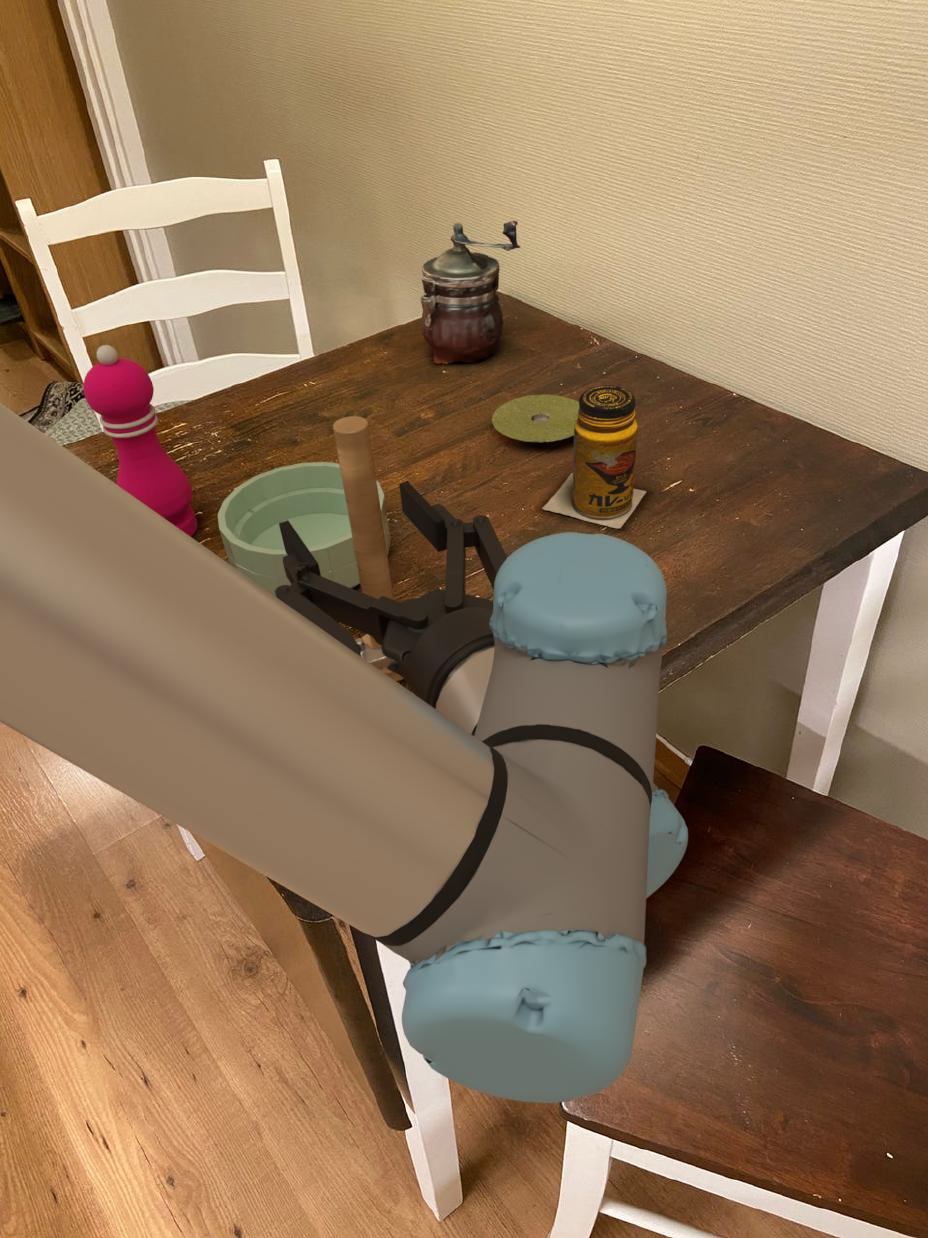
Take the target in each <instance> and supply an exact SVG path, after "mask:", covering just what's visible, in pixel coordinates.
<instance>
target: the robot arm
mask: <svg viewBox="0 0 928 1238" xmlns="http://www.w3.org/2000/svg"><path fill="white" fill-rule="evenodd" d="M116 484H117V483H115V482H113V480H111V479H109V478H108V477H107V476H105V475H104V474H102V473H101V472H99V470H96V469H95V468H93V467H92V466H91V465H89V464H88V463H86V462H85V461H84V460H82V459H81V458H79V457H78V456H77V455H75V454H74V453H72V452H71V451H69V449H67V448H66V447H64V446H62V445H61V444H60V443H58V442H57V441H56V440H54V439H52V438H51V437H50V436H48V435H47V434H45V433H44V432H42V431H41V430H40V429H38V428H37V427H36V426H34V425H32V424H31V423H29V422H28V421H27V420H25V419H24V418H23V417H21V416H20V415H18V414H17V413H15V412H14V411H13V410H11V409H10V408H9V407H7V406H6V405H4V404H3V403H2V402H0V723H1V724H2V725H5V726H6V727H8V728H10V729H12V730H13V731H15V732H17V733H19V734H20V735H22V736H24V737H25V738H27V739H28V740H30V741H32V742H34V743H36V744H37V745H39V746H41V747H43V748H44V749H46V750H48V751H49V752H52V753H53V754H54V755H56V756H58V757H60V758H62V759H63V760H65V761H67V762H69V763H70V764H72V765H73V766H75V767H76V768H79V769H80V770H82V771H84V772H85V773H87V774H89V775H91V776H93V777H94V778H96V779H98V780H100V781H101V782H103V783H105V784H107V785H108V786H110V787H112V788H113V789H115V790H117V791H119V792H120V793H122V794H124V795H126V796H128V797H129V798H131V799H132V800H133V801H136V802H137V803H139V804H141V805H143V806H144V807H146V808H148V809H149V810H151V811H153V812H155V813H156V814H158V815H160V816H161V817H163V818H165V819H166V820H168V821H170V822H172V823H174V824H175V825H177V826H179V827H180V828H182V829H184V830H186V831H188V833H189V832H190V834H192V835H195V836H196V837H198V838H199V839H202V840H203V841H204V842H206V843H208V844H210V845H211V846H214V847H215V848H216V849H218V850H220V851H222V852H223V853H225V854H227V855H229V856H231V857H232V858H234V859H236V860H237V861H239V862H241V863H243V864H244V865H245V866H248V867H250V869H251V868H252V869H253V870H255V871H256V872H258V873H260V874H262V875H263V876H265V877H267V878H269V879H270V880H272V881H274V882H276V883H277V884H278V885H281V886H282V887H284V888H285V889H287V890H289V891H291V892H292V893H294V894H296V895H298V896H299V897H301V898H303V899H304V900H306V901H308V902H310V903H311V904H313V905H315V906H317V907H318V908H320V909H322V910H323V911H325V912H327V913H328V914H330V915H332V916H334V917H335V918H337V919H339V920H340V921H342V922H344V923H346V924H348V925H349V926H351V927H353V928H354V929H356V930H358V931H360V932H361V933H363V934H365V935H366V936H367V937H369V938H371V939H373V940H375V941H377V942H378V943H380V944H382V945H383V946H384V947H386V948H387V949H388V950H390V951H391V952H392V953H394V954H396V955H398V956H399V957H401V958H403V959H405V960H406V961H408V962H409V964H410V968H409V969H408V970H407V972H406V974H405V976H404V979H403V981H402V986H403V988H404V989H405V995H404V1000H403V1004H402V1005H403V1006H402V1011H401V1025H402V1031H403V1034H404V1037H405V1038H406V1040H407V1042H408V1045H409V1046H410V1047H411V1048H412V1049H413V1050H415V1051H416V1052H417V1053H419V1054H420V1055H421V1056H422V1058H423V1060H424V1061H425V1062H426V1063H427V1064H428V1066H429V1067H430V1068H431V1069H432V1070H434V1071H435V1072H436V1073H437V1074H440V1075H441V1076H443V1077H444V1078H446V1079H448V1080H450V1081H452V1082H454V1083H456V1084H459V1085H460V1086H463V1087H465V1088H468V1089H470V1090H473V1091H476V1092H479V1093H481V1094H485V1095H488V1096H492V1097H496V1098H500V1099H504V1100H510V1101H517V1102H523V1103H537V1104H555V1103H565V1102H566V1103H568V1102H571V1101H573V1100H576V1099H579V1098H585V1097H589V1096H590V1097H591V1096H594V1095H596V1094H599V1093H602V1092H604V1091H605V1090H606V1089H608V1088H609V1087H611V1086H612V1085H613V1084H614V1083H615V1082H616V1081H617V1080H618V1079H619V1078H620V1077H621V1075H623V1073H624V1071H625V1070H626V1067H627V1066H628V1063H629V1061H630V1059H631V1056H632V1052H633V1046H634V1038H635V1032H636V1025H637V1017H638V1010H639V1004H640V996H641V992H642V991H641V989H642V982H643V975H644V968H646V965H647V959H648V958H647V946H646V944H645V935H646V934H645V932H646V912H647V911H646V910H647V899H648V898H649V897H650V896H651V895H653V893H655V892H656V891H658V890H659V889H660V888H661V887H662V885H664V884H665V883H666V882H667V880H668V879H669V878H670V877H671V876H672V875H673V874H674V872H675V871H676V869H677V868H678V867H679V865H680V863H681V861H682V860H683V858H684V855H685V853H686V851H687V847H688V842H689V829H688V827H687V825H686V821H685V819H684V818H683V816H682V814H681V813H680V812H679V811H678V809H677V808H676V806H675V805H674V804H673V802H672V801H671V800H670V798H669V794H668V793H667V792H666V790H664V789H663V788H659V787H658V786H657V785H656V784H655V783H654V775H655V762H656V760H655V759H656V747H657V746H656V744H657V732H658V731H657V730H658V713H659V712H658V711H659V696H660V695H659V693H660V680H661V669H662V663H663V654H664V646H665V645H666V643H667V642H668V635H667V634H668V632H667V631H668V628H669V624H668V622H667V621H666V618H667V617H666V615H667V599H668V598H667V597H668V591H667V589H668V588H667V584H666V580H665V577H664V575H663V573H662V571H661V570H660V567H659V565H658V564H657V563H656V562H655V561H654V560H653V558H652V557H651V556H650V555H649V554H648V553H646V552H645V551H643V550H641V548H639V547H637V546H636V545H634V544H632V543H630V542H628V541H626V540H624V539H621V538H618V537H615V536H612V535H608V534H604V533H593V534H591V533H582V532H581V533H580V532H577V531H565V532H559V533H554V534H549V535H545V536H542V537H539V538H536V539H534V540H531V541H529V542H527V543H525V544H524V545H521V546H520V547H519V548H517V549H515V550H514V551H513V552H512V553H510V555H509V556H507V554H506V552H505V549H504V548H503V546H502V543H501V542H500V539H499V537H498V535H497V533H496V531H495V529H494V527H493V525H492V522H491V521H490V518H489V517H488V516H486V515H476V516H475V517H473V518H472V521H470V522H469V521H468V522H464V521H463V520H462V519H460V518H456V517H455V516H454V515H453V514H452V513H451V512H450V511H449V510H448V509H447V508H446V507H445V506H444V505H443V504H440V503H436V504H433V505H431V504H430V503H429V501H428V500H427V499H425V497H423V495H421V493H420V492H418V490H417V489H416V488H415V487H414V486H413V484H412V483H410V482H409V481H408V480H406V481H403V482H400V483H398V486H399V494H400V501H401V509H402V514H404V516H405V517H406V518H407V519H408V520H409V522H411V524H412V525H413V526H414V527H415V528H416V529H417V530H418V532H420V534H422V536H423V537H424V538H425V539H426V540H427V541H428V543H430V544H431V546H432V547H433V548H434V550H436V551H437V552H438V553H440V552H443V551H446V560H445V561H446V562H445V563H446V565H445V575H444V580H445V581H444V589H441V588H439V587H437V588H434V589H432V590H429V591H427V592H426V593H424V594H422V595H421V596H419V597H412V598H407V599H405V600H403V601H398V600H395V599H394V600H392V599H390V598H387V597H385V596H381V597H380V598H379V599H376V598H374V597H371V596H369V595H366V594H364V593H362V591H358V590H356V589H355V588H354V589H353V588H352V589H351V588H349V587H346V586H344V585H341V584H339V583H336V582H334V581H331V580H329V579H327V578H324V577H322V576H321V574H320V569H319V564H318V563H317V561H316V560H315V558H314V557H313V555H312V554H311V552H310V551H309V550H308V548H307V547H306V545H305V544H304V542H303V541H302V540H301V538H300V537H299V535H298V534H297V532H296V531H295V529H294V528H293V527H292V525H291V524H290V522H289V521H285V522H281V523H279V526H280V531H281V535H282V539H283V543H284V547H285V551H286V553H287V555H288V556H285V557H283V565H284V569H285V573H286V577H287V578H288V580H289V581H290V583H291V586H289V585H282V586H279V587H278V588H276V590H275V594H276V597H275V596H274V595H272V594H271V593H270V592H268V591H267V590H265V589H264V588H263V587H261V586H260V585H258V584H257V583H255V582H254V581H253V580H251V579H250V578H248V577H247V576H246V575H244V574H243V573H241V572H240V571H238V570H237V569H236V568H234V567H233V566H231V565H230V564H229V562H227V561H226V560H224V558H221V557H220V556H219V555H217V554H216V553H214V552H213V551H211V550H210V549H209V548H207V547H206V546H204V545H203V544H202V543H200V542H199V541H197V540H196V539H194V538H193V536H191V537H190V536H189V535H187V534H186V533H184V532H183V531H182V530H180V529H179V528H177V527H176V526H174V525H173V524H172V523H170V522H169V521H167V520H166V519H165V518H163V517H162V516H160V515H159V514H157V513H156V512H155V511H153V510H152V509H150V508H149V507H147V506H146V505H145V504H143V503H142V502H140V501H139V500H138V499H136V498H135V497H133V496H132V495H130V494H129V493H128V492H126V491H125V490H123V489H122V488H121V487H119V486H118V485H116ZM473 547H474V549H475V551H476V554H477V556H478V559H479V561H480V563H481V566H482V568H483V570H484V572H485V574H486V577H487V579H488V582H489V583H490V586H491V588H492V590H493V600H490V599H486V598H483V597H479V596H475V595H472V594H468V593H466V591H467V589H466V576H467V575H466V574H467V573H466V571H467V570H466V557H467V553H466V552H467V550H466V548H473ZM342 624H343V625H345V626H347V627H349V628H351V629H354V630H356V631H358V632H361V633H363V634H365V635H366V634H368V635H370V636H372V637H373V638H374V640H375V641H376V642H377V643H378V644H380V645H382V646H381V648H378V649H374V648H371V647H370V646H368V645H367V644H365V643H364V641H363V639H362V637H356V638H355V637H354V636H353V634H352V633H351V632H350V631H349V630H348V629H347V628H346V627H345V626H343V625H342ZM384 668H388V669H389V670H390V671H392V672H394V673H397V674H399V675H400V676H402V677H403V678H404V679H403V680H404V681H405V683H406V685H407V686H408V688H406V687H405V686H403V685H402V684H400V683H399V682H398V681H395V680H393V679H392V678H390V677H389V676H388V675H386V674H385V673H383V672H382V671H380V670H381V669H384Z"/></svg>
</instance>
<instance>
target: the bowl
mask: <svg viewBox="0 0 928 1238" xmlns="http://www.w3.org/2000/svg"><path fill="white" fill-rule="evenodd" d="M376 481H377V488H378V495H379V502H380V508H381V515H382V522H383V529H384V536H385V542H386V549H387V556H389V553H390V546H391V540H392V539H391V534H390V526H389V519H388V512H387V510H388V509H387V504H386V503H387V502H386V497H385V493H384V490H383V488H382V485H381V483H380V482H379V481H378V480H377V479H376ZM285 521H289V522H290V524H291V525H292V527H293V528H294V529H295V531H296V532H297V534H298V535H299V537H300V538H301V540H302V541H303V542H304V544H305V545H306V547H307V548H308V550H309V551H310V552H311V554H312V555H313V557H314V558H315V560H316V561H317V563H318V564H319V569H320V574H321V576H322V577H324V578H327V579H329V580H331V581H334V582H336V583H339V584H341V585H344V586H346V587H349V588H351V589H353V588H354V589H355V588H356V587H357V586H359V585H360V579H359V573H358V568H357V562H356V556H355V551H354V545H353V539H352V534H351V528H350V522H349V517H348V511H347V505H346V500H345V494H344V488H343V483H342V477H341V471H340V466H339V462H338V463H337V462H330V461H313V462H312V461H310V462H300V463H299V462H298V463H294V464H289V465H284V466H279V467H276V468H273V469H271V470H268V471H265V472H262V473H260V474H257V475H254V476H253V477H250V478H249V479H248V480H246V481H244V482H243V483H241V484H240V485H238V486H237V487H235V489H234V490H233V491H232V492H230V493H229V494H228V495H227V496H226V498H225V499H224V500H223V502H222V503H221V506H220V508H219V510H218V513H217V523H218V530H219V534H220V536H221V540H222V543H223V547H224V551H225V553H226V557H227V560H228V564H230V565H231V566H233V567H234V568H236V569H237V570H238V571H240V572H241V573H243V574H244V575H246V576H247V577H248V578H250V579H251V580H253V581H254V582H255V583H257V584H258V585H260V586H261V587H263V588H264V589H265V590H267V591H268V592H270V593H271V594H272V595H274V596H275V597H276V594H275V590H276V588H278V587H279V586H282V585H289V586H291V583H290V581H289V580H288V578H287V577H286V573H285V569H284V565H283V557H285V556H288V555H287V553H286V551H285V547H284V543H283V539H282V535H281V531H280V526H279V523H281V522H285Z"/></svg>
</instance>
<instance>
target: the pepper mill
mask: <svg viewBox="0 0 928 1238" xmlns="http://www.w3.org/2000/svg"><path fill="white" fill-rule="evenodd" d="M118 356H119V355H118V352H117V350H116V349H115V347H114V346H111V345H109V344H103V345H101V346H99V347H98V348H97V350H96V359H97V360H98V362H97V363H96V364H95V365H93V366H92V367H91V368H90V369H89V370H88V371H87V373H86V375H85V376H84V380H83V395H84V398H85V401H86V402H87V404H88V406H89V408H90V409H91V410H93V411H94V412H95V413H97V414H98V415H100V417H99V422H100V424H101V426H102V430H103V433H104V434H105V435H106V436H108V437H109V438H111V440H112V442H113V444H114V446H115V449H116V453H117V457H118V471H117V476H116V483H115V484H116V485H118V486H119V487H121V488H122V489H123V490H125V491H126V492H128V493H129V494H130V495H132V496H133V497H135V498H136V499H138V500H139V501H140V502H142V503H143V504H145V505H146V506H147V507H149V508H150V509H152V510H153V511H155V512H156V513H157V514H159V515H160V516H162V517H163V518H165V519H166V520H167V521H169V522H170V523H172V524H173V525H174V526H176V527H177V528H179V529H180V530H182V531H183V532H184V533H186V534H187V535H189V536H190V537H193V536H194V535H195V533H197V531H198V530H197V529H198V525H199V524H198V520H197V516H196V514H195V510H194V508H193V507H192V506H191V503H192V500H193V495H194V493H193V488H192V485H191V482H190V480H189V478H188V476H187V475H186V474H185V472H184V471H183V469H182V468H181V467H180V466H179V465H178V464H177V462H176V461H174V459H172V457H171V456H170V455H169V454H168V453H167V452H166V450H165V449H164V447H163V446H162V444H161V442H160V439H159V437H158V434H157V429H156V425H157V424H158V422H159V417H158V415H157V414H156V408H155V406H154V405H153V404H151V402H152V400H153V397H154V389H155V388H154V384H153V381H152V379H151V377H150V375H149V374H148V373H149V372H148V371H147V370H145V368H144V367H143V366H142V365H140V364H139V363H137V362H136V361H133V360H131V359H128V358H122V357H120V358H119V357H118Z"/></svg>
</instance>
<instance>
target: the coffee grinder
mask: <svg viewBox="0 0 928 1238" xmlns="http://www.w3.org/2000/svg"><path fill="white" fill-rule="evenodd" d="M518 224H519V223H518V221H516V220H511V221H507V222H504V223H503V231H502V235H504V236H506V237H507V239H508V240H509V242H510V243H484V242H479V241H473V240H471V239H469V238H468V236H467V235H465V234H464V225H463V224H462V223H460V222H456V223H454V224H453V226H452V230H453V234H452V235H451V236H450V241H451V243H452V244H453V247H452V248H448V249H447V250H444V251H443V252H442V253H441V254H439V256H436V257H433V258H431V259H428V260H427V261H426V262H425V263H424V264H423V265H422V266H421V272H422V279H421V283H422V289H423V295H421V297H420V303H421V308H422V314H421V325H422V326H421V333H422V337H423V339H424V340H425V342H426V343H427V344H428V345H429V347H430V348H431V351H432V355H433V362H434V364H437V365H440V364H443V365H449V364H452V363H455V362H463V363H470V364H474V363H476V362H477V361H479V360H482V359H486V358H488V357H489V356H494V354H495V352H496V351H497V348H498V345H499V343H500V339H501V336H502V335H503V325H504V315H503V311H502V308H501V306H500V303H499V300H500V298H499V295H498V294H497V291H498V290H499V285H500V284H499V283H500V271H501V270H500V263H499V261H498V260H497V259H496V258H495V257H492V256H489V255H487V254H484V253H481V252H478V251H477V252H475V251H471V250H470V249H469V248H468V247H467V246H472V247H473V246H474V247H481V248H482V247H485V248H496V249H502V250H505V251H506V252H509V251H513V250H515V249H521V246H520V244H518V241H517V238H518V237H517V226H518Z"/></svg>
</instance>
